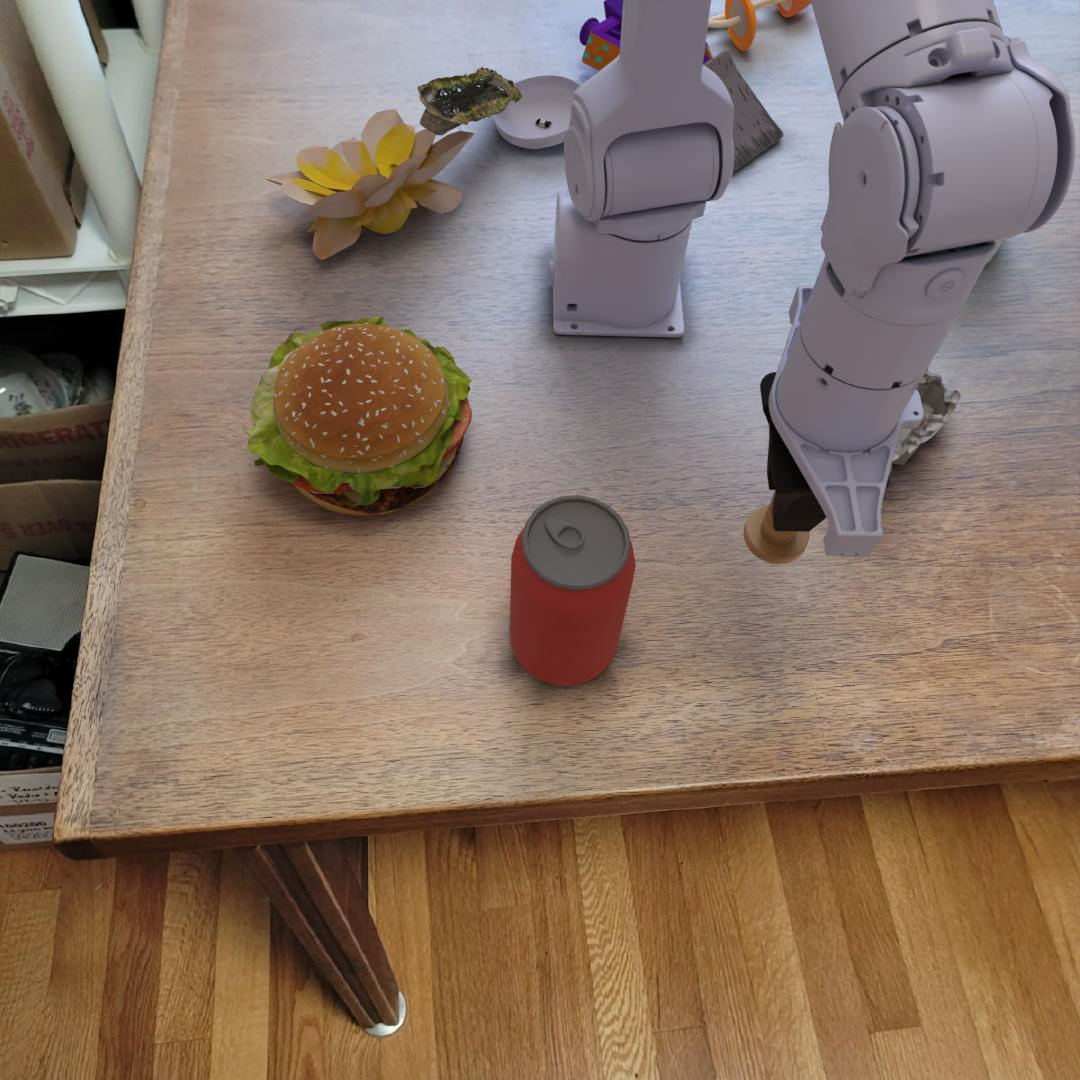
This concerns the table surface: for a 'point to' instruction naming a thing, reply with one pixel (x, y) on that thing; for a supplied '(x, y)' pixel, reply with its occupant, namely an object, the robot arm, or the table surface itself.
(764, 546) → the wooden pestle
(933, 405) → the egg carton
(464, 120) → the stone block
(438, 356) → the food
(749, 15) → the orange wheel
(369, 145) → the decorative flower
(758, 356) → the table surface
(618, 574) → the beer can
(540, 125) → the shallow white dish
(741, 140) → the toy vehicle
